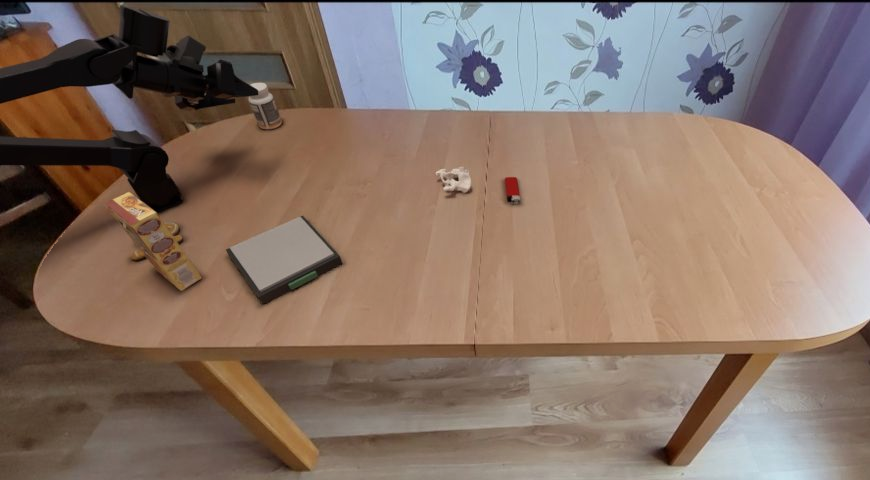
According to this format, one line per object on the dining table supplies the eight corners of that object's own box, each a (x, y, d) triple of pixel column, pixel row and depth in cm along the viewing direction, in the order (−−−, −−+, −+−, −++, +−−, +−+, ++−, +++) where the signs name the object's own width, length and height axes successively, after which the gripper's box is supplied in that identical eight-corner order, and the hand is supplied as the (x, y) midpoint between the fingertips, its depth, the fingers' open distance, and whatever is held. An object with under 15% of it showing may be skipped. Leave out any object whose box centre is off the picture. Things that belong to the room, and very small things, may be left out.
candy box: (203, 278, 83) (158, 211, 72) (180, 292, 80) (130, 225, 69) (176, 257, 86) (129, 190, 75) (153, 270, 84) (101, 203, 73)
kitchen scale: (263, 306, 79) (258, 296, 77) (229, 257, 86) (223, 247, 85) (343, 265, 86) (340, 255, 84) (305, 223, 93) (301, 213, 91)
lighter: (517, 176, 103) (520, 199, 98) (517, 181, 104) (520, 204, 99) (504, 177, 103) (507, 199, 98) (504, 181, 104) (507, 204, 98)
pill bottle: (282, 117, 121) (269, 80, 114) (282, 128, 118) (269, 90, 110) (259, 120, 120) (244, 83, 113) (258, 131, 116) (243, 93, 109)
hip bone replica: (433, 164, 102) (462, 156, 103) (436, 180, 105) (464, 172, 106) (443, 184, 96) (473, 176, 98) (446, 200, 100) (475, 192, 101)
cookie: (122, 258, 84) (146, 221, 91) (125, 261, 85) (148, 225, 92) (169, 256, 85) (189, 220, 92) (172, 259, 86) (192, 223, 92)
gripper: (180, 17, 80) (268, 46, 93) (137, 44, 91) (221, 67, 104) (186, 84, 81) (271, 103, 94) (142, 103, 92) (225, 118, 105)
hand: (246, 96), depth 99 cm, fingers open, 9 cm apart
